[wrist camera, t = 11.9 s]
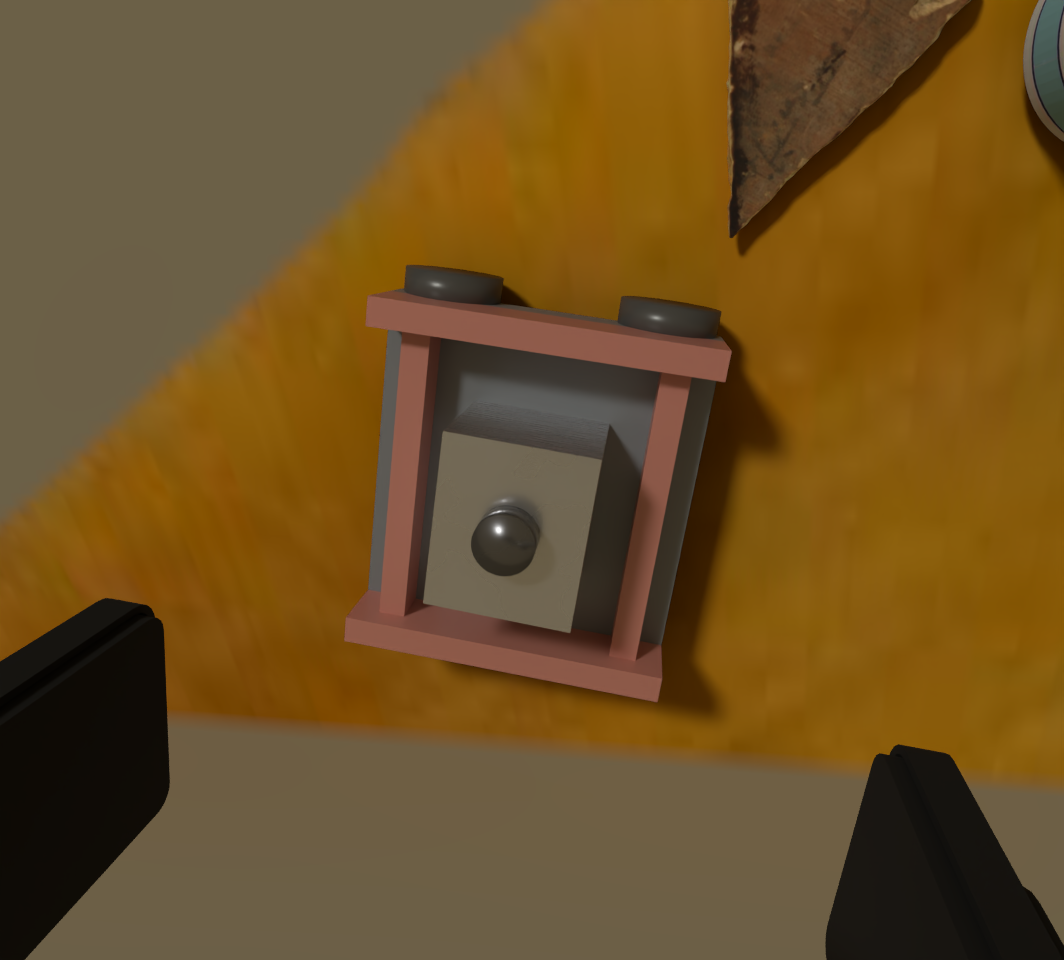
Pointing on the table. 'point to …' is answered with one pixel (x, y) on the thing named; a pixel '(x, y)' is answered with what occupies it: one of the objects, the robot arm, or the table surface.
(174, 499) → the table surface
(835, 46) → the shard
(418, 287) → the chassis
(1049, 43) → the beverage can
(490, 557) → the cube with metal knob
